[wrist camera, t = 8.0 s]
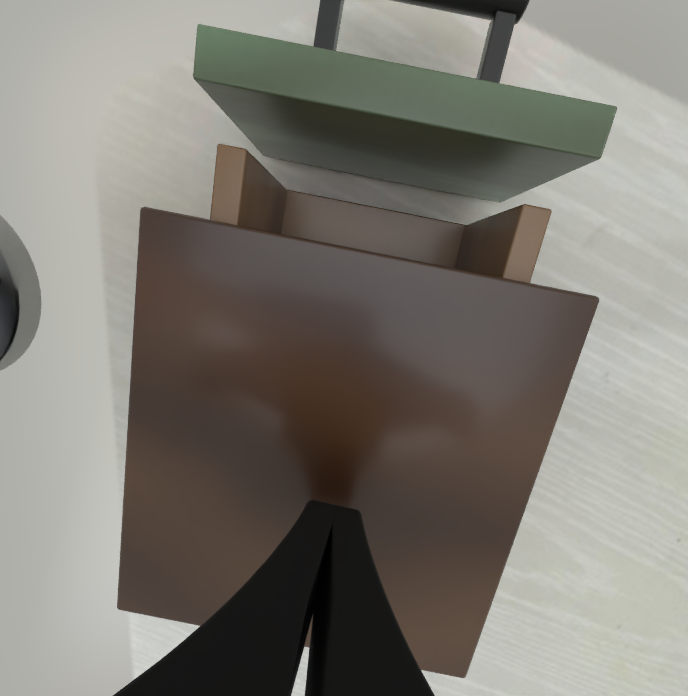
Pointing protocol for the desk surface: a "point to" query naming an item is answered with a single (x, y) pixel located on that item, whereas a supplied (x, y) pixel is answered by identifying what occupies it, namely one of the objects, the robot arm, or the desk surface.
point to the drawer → (394, 140)
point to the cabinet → (334, 419)
